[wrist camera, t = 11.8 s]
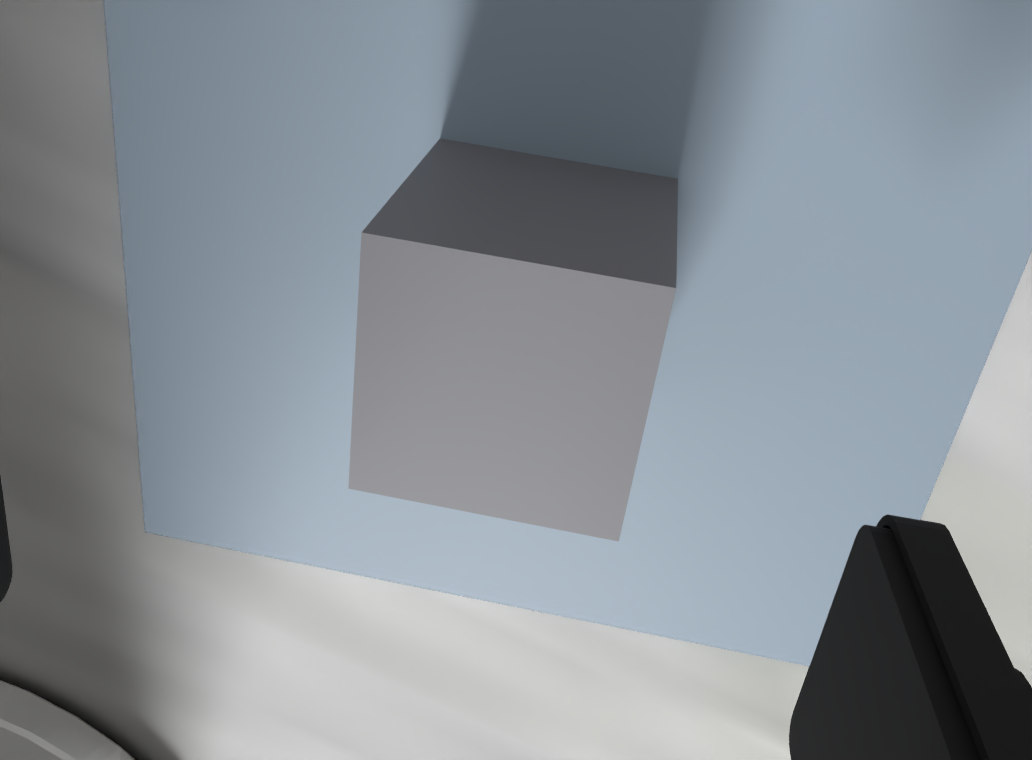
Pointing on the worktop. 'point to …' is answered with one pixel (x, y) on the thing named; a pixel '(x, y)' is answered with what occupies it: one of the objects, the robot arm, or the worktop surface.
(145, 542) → the worktop surface
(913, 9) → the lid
